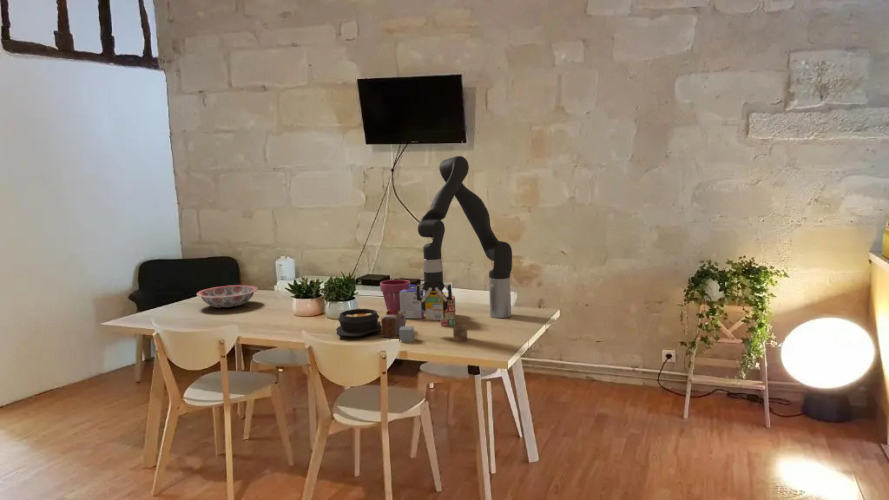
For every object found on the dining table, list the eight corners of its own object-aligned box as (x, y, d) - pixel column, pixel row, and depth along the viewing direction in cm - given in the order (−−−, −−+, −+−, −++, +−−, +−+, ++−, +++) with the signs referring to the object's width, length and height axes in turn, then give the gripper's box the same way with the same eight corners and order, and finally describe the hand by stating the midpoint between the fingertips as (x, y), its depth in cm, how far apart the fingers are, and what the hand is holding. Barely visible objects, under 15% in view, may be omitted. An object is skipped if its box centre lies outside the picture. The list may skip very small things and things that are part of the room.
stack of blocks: (438, 315, 309) (437, 288, 308) (452, 314, 310) (451, 287, 308) (441, 326, 288) (440, 298, 286) (456, 326, 289) (455, 297, 287)
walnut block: (467, 338, 269) (466, 325, 268) (466, 341, 264) (466, 328, 264) (454, 338, 270) (454, 325, 269) (453, 341, 265) (453, 329, 264)
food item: (388, 329, 287) (387, 306, 286) (407, 329, 286) (406, 306, 285) (380, 337, 274) (378, 313, 273) (399, 338, 273) (398, 313, 271)
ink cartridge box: (424, 316, 308) (423, 284, 306) (422, 318, 303) (420, 286, 301) (403, 315, 310) (402, 284, 308) (400, 318, 305) (398, 286, 303)
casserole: (369, 341, 269) (368, 320, 268) (325, 339, 274) (324, 319, 273) (390, 325, 293) (389, 306, 292) (349, 324, 298) (348, 305, 296)
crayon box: (445, 318, 275) (443, 289, 273) (443, 320, 272) (442, 291, 270) (427, 318, 276) (426, 289, 274) (425, 319, 273) (424, 291, 271)
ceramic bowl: (234, 298, 363) (233, 283, 362) (271, 303, 346) (270, 287, 345) (185, 309, 340) (184, 293, 339) (222, 315, 323) (221, 299, 322)
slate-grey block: (414, 338, 271) (413, 326, 270) (412, 342, 266) (412, 329, 265) (401, 338, 271) (400, 326, 271) (399, 342, 266) (399, 329, 266)
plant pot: (414, 305, 331) (413, 279, 329) (407, 312, 317) (406, 284, 315) (385, 305, 333) (384, 279, 331) (377, 311, 319) (376, 284, 318)
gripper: (451, 267, 274) (453, 308, 276) (416, 268, 275) (418, 308, 278) (450, 271, 267) (452, 312, 269) (414, 272, 268) (415, 313, 270)
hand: (434, 310), depth 273 cm, fingers closed on crayon box, 7 cm apart
